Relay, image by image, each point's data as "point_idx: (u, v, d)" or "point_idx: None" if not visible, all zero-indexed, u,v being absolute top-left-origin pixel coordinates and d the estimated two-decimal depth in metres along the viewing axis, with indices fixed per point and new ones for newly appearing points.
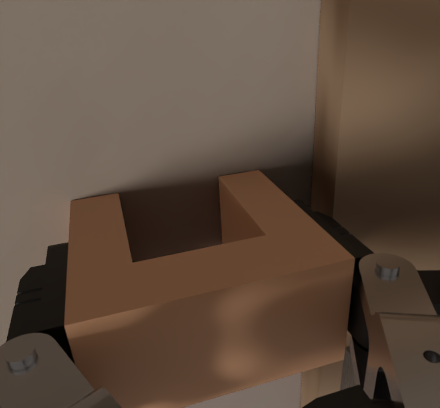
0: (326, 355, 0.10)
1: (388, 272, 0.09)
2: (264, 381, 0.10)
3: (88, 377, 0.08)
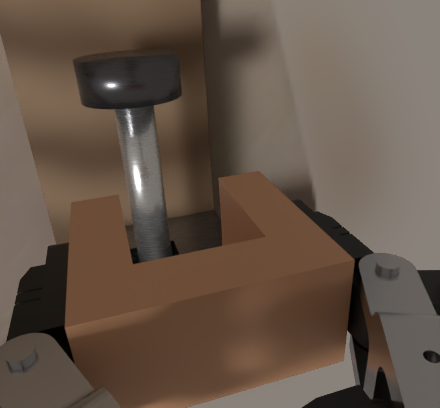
0: (326, 356, 0.10)
1: (388, 272, 0.09)
2: (264, 382, 0.10)
3: (89, 379, 0.08)
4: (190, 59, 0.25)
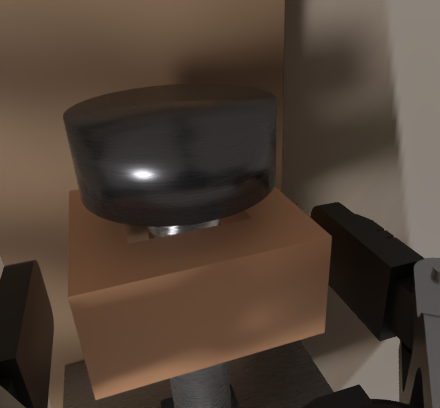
0: (308, 328, 0.11)
1: None
2: (251, 352, 0.11)
3: (89, 346, 0.09)
4: None
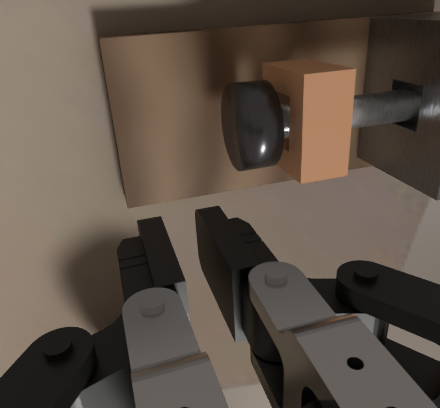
0: (350, 79, 0.22)
1: (279, 281, 0.09)
2: (352, 108, 0.23)
3: (323, 177, 0.24)
4: (223, 43, 0.26)
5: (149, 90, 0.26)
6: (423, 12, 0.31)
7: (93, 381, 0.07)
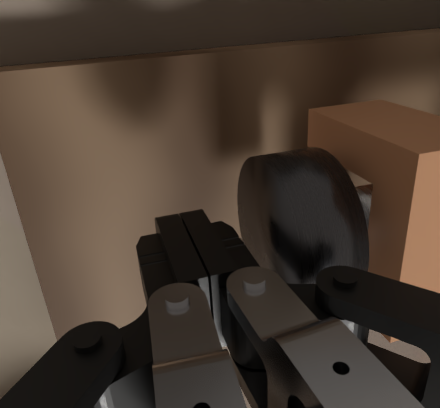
0: None
1: (258, 287, 0.09)
2: None
3: None
4: (213, 78, 0.15)
5: (81, 159, 0.15)
6: None
7: (122, 374, 0.07)
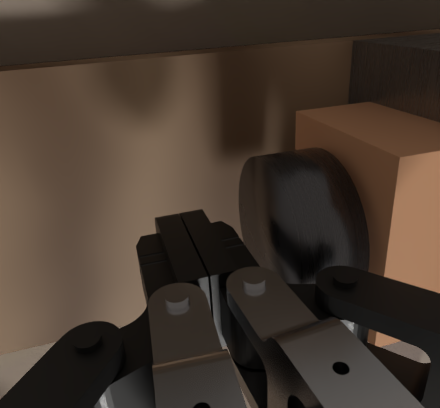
0: None
1: (257, 287, 0.09)
2: None
3: None
4: (71, 92, 0.14)
5: None
6: None
7: (122, 374, 0.07)
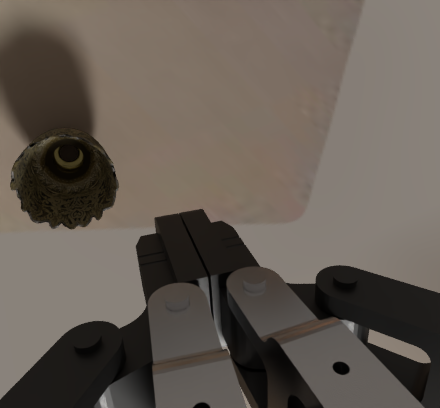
0: None
1: (258, 287, 0.09)
2: None
3: None
4: None
5: None
6: None
7: (122, 374, 0.07)
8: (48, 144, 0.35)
